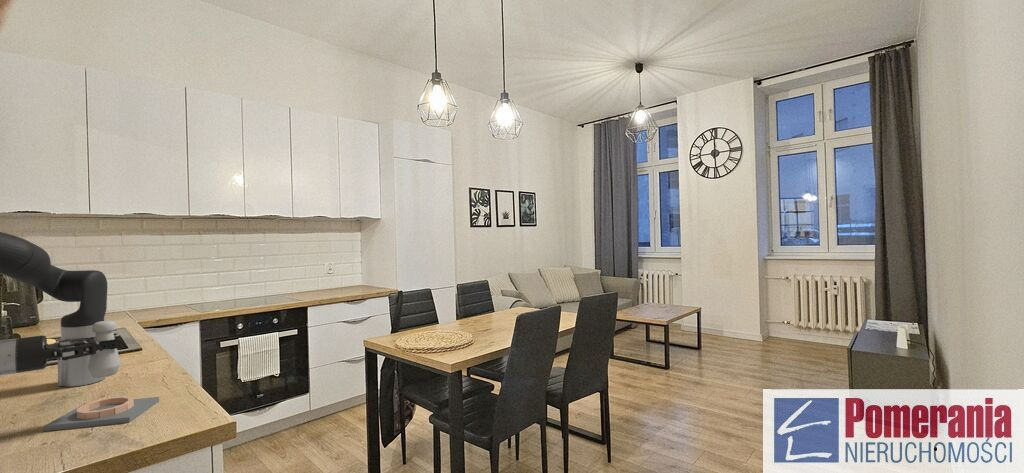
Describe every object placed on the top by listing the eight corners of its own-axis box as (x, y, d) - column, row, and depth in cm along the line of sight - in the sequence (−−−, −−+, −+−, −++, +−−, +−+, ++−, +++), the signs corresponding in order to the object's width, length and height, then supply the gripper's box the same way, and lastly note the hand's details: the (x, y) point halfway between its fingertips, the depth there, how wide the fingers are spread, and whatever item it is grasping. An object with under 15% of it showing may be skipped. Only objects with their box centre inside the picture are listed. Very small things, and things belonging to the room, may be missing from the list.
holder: (44, 431, 97) (44, 419, 97) (84, 408, 110) (84, 397, 110) (129, 422, 101) (129, 410, 101) (159, 401, 114) (158, 391, 114)
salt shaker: (100, 379, 102) (99, 324, 102) (81, 378, 103) (80, 323, 103) (126, 372, 108) (126, 319, 108) (108, 370, 109) (108, 318, 109)
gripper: (10, 344, 90) (122, 331, 102) (17, 333, 100) (118, 322, 112) (11, 380, 90) (122, 362, 103) (18, 366, 100) (119, 351, 112)
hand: (120, 341), depth 107 cm, fingers closed on salt shaker, 3 cm apart
